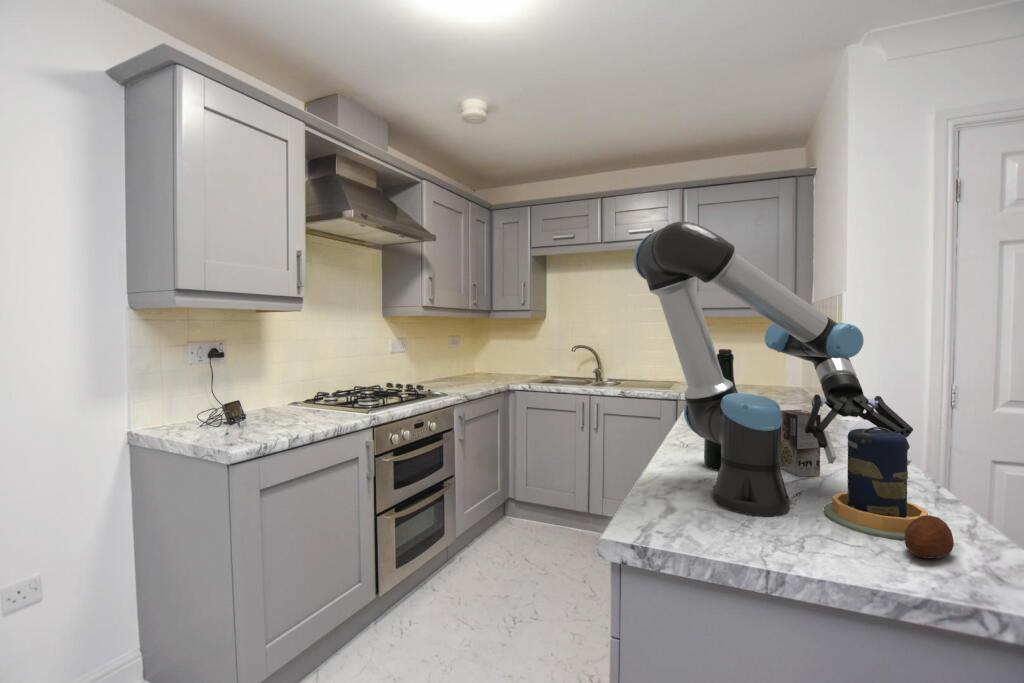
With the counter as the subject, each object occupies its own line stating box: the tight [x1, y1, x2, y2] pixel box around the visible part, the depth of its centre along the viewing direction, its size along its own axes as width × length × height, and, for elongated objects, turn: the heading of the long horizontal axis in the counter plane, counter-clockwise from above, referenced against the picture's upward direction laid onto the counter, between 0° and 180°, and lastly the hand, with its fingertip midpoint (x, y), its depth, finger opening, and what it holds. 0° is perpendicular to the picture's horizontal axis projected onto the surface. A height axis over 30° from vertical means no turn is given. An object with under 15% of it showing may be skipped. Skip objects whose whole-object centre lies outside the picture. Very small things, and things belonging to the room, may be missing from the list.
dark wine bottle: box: [703, 348, 739, 471], centre depth 132 cm, size 10×10×33 cm
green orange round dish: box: [823, 491, 929, 541], centre depth 95 cm, size 18×18×3 cm
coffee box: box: [780, 409, 822, 477], centre depth 128 cm, size 9×6×16 cm
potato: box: [904, 514, 955, 559], centre depth 81 cm, size 6×12×6 cm, turn 125°
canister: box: [846, 426, 909, 518], centre depth 95 cm, size 10×10×18 cm
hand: (869, 462), depth 99 cm, fingers open, 13 cm apart
